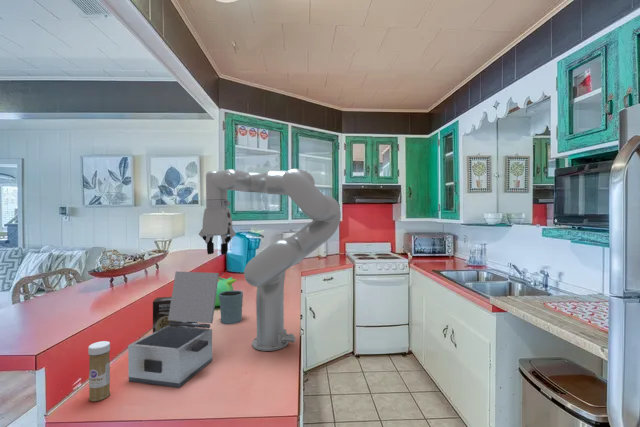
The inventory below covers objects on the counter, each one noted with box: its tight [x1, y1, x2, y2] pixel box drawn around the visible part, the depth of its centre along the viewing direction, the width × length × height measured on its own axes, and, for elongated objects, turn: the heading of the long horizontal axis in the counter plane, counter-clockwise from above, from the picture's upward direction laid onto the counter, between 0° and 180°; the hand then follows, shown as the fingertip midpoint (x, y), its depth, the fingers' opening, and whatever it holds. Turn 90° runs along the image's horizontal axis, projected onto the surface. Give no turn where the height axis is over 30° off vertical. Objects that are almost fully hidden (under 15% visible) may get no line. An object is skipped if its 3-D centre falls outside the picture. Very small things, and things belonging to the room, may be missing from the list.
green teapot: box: [215, 276, 237, 307], centre depth 163 cm, size 18×17×15 cm
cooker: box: [127, 325, 213, 389], centre depth 95 cm, size 20×16×10 cm
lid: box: [168, 271, 220, 329], centre depth 105 cm, size 16×17×2 cm
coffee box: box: [152, 296, 183, 333], centre depth 115 cm, size 9×6×16 cm
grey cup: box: [219, 290, 244, 325], centre depth 140 cm, size 10×10×12 cm
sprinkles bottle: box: [87, 340, 111, 402], centre depth 82 cm, size 5×5×14 cm
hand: (217, 253), depth 120 cm, fingers open, 4 cm apart
